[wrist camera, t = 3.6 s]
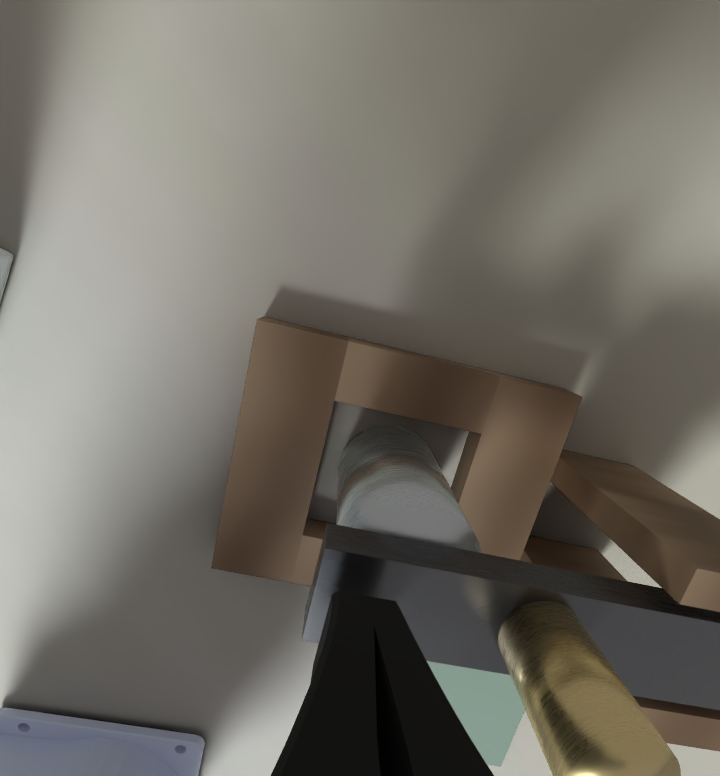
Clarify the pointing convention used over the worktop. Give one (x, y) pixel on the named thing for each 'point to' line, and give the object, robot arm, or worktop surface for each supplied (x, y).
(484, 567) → the dark grey long bar
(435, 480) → the steel peg
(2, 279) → the syrup box
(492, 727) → the sage rubber pad
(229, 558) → the walnut socket block
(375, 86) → the worktop surface
